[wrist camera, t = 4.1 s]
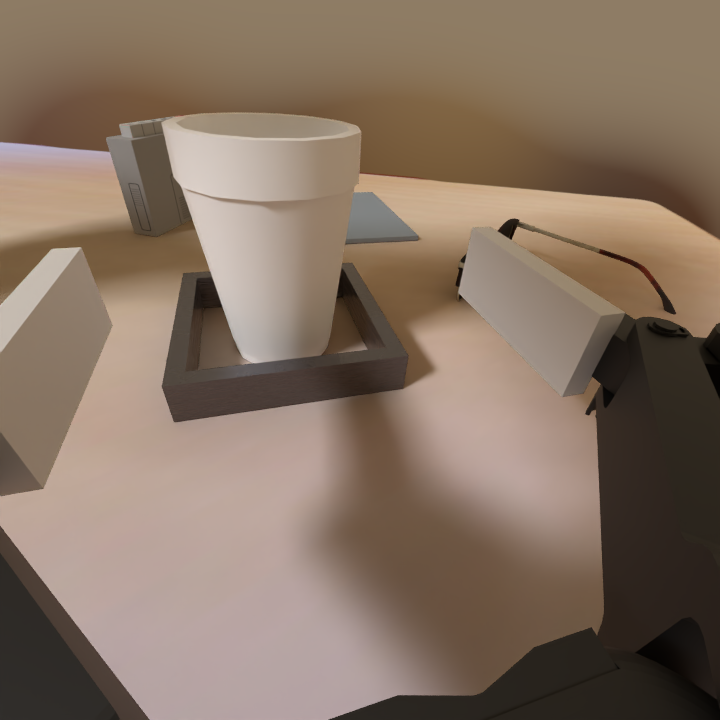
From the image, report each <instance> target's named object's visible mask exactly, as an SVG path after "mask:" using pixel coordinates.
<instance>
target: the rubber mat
mask: <svg viewBox="0 0 720 720" xmlns="http://www.w3.org/2000/svg"><path fill="white" fill-rule="evenodd" d="M410 240H418V235H417V234H416V233H415V232H414V231H413V230H412V229H411V228H410V227H409V226H408V225H406V224H405V223H404V222H403V221H402V220H401V219H400V218H399V217H398V216H397V215H396V214H395V213H394V212H393V211H392V210H391V209H390V208H388V207H387V206H386V205H385V204H384V203H383V202H382V201H381V200H380V199H379V198H378V197H377V196H376V195H375V194H374V193H373V192H362V193H353V199H352V205H351V211H350V217H349V223H348V229H347V235H346V242H345V244H350V243H370V242H390V241H410Z"/></svg>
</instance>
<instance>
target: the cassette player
mask: <svg viewBox="0 0 720 720" xmlns="http://www.w3.org/2000/svg"><path fill="white" fill-rule="evenodd" d="M181 116H184V115H181ZM174 117H177V116H174ZM170 118H173V117H167V118H160V119H153V120H147V121H140V122H134V123H126V124H119V126H120V130H121V133H122V135H118V136H113V137H107V138H106V141H107V144H108V147H109V150H110V154H111V157H112V160H113V164H114V167H115V170H116V173H117V177H118V180H119V183H120V186H121V190H122V193H123V196H124V200H125V203H126V206H127V209H128V213H129V216H130V219H131V223H132V226H133V229H134V232H135V233H136V234H143V235H149V236H155V237H158V236H160V235H162V234H164V233H166V232H168V231H170V230H172V229H173V228H175V227H177V226H179V225H181V224H183V223H185V222H187V221H189V220H191V219H192V217H191V214H190V211H189V208H188V205H187V202H186V199H185V197H184V194H183V191H182V188H181V186H180V184H179V183H178V182H177V181H176V180H175V178H174V177H173V173H172V168H171V164H170V159H169V155H168V150H167V146H166V141H165V137H164V132H163V128H162V123H161V122H163V121H165V120H168V119H170Z"/></svg>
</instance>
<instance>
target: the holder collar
mask: <svg viewBox="0 0 720 720" xmlns="http://www.w3.org/2000/svg"><path fill="white" fill-rule="evenodd" d="M337 297H343V299H344V301H345V303H346V305H347V307H348V309H349V311H350V313H351V316H352V318H353V320H354V322H355V324H356V326H357V328H358V330H359V332H360V334H361V336H362V338H363V340H364V343H365V345H366V347H367V349H368V350H363V351H354V352H346V353H337V354H329V355H321V356H312V357H304V358H295V359H287V360H279V361H270V362H262V363H253V364H245V365H236V366H228V367H220V368H211V369H203V370H198V367H199V355H200V343H201V331H202V319H203V308H209V307H221V306H222V304H221V301H220V298H219V295H218V292H217V289H216V286H215V284H214V281H213V278H212V275H211V272H195V273H183V277H182V283H181V288H180V293H179V299H178V304H177V309H176V315H175V320H174V325H173V331H172V336H171V341H170V346H169V352H168V357H167V362H166V368H165V373H164V378H163V384H162V389H163V391H164V394H165V397H166V400H167V403H168V406H169V409H170V412H171V415H172V418H173V421H174V422H178V421H185V420H192V419H198V418H205V417H212V416H219V415H226V414H232V413H239V412H246V411H253V410H259V409H266V408H273V407H280V406H287V405H293V404H300V403H307V402H314V401H321V400H327V399H334V398H341V397H348V396H355V395H361V394H368V393H375V392H382V391H389V390H395V389H402V388H403V386H404V380H405V374H406V368H407V361H408V354H407V353H406V351H405V349H404V348H403V346H402V344H401V343H400V341H399V339H398V338H397V336H396V334H395V333H394V331H393V329H392V328H391V326H390V325H389V323H388V321H387V320H386V318H385V316H384V315H383V313H382V311H381V310H380V308H379V306H378V305H377V303H376V301H375V300H374V298H373V296H372V295H371V293H370V292H369V290H368V288H367V287H366V285H365V283H364V282H363V280H362V278H361V277H360V275H359V273H358V272H357V270H356V268H355V267H354V265H353V263H342V266H341V272H340V278H339V285H338V291H337Z"/></svg>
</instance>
